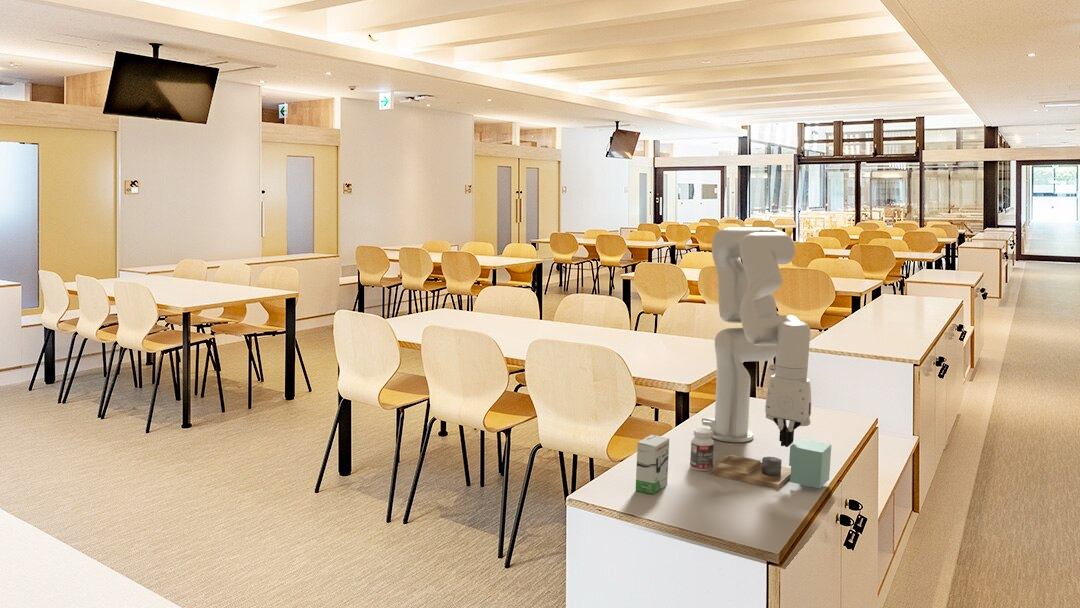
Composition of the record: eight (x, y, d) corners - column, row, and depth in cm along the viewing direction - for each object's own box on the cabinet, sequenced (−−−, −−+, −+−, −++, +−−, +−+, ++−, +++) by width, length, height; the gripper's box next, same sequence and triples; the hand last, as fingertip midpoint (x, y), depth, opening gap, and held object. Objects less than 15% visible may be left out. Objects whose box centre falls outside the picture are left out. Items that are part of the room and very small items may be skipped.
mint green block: (788, 481, 200) (790, 446, 199) (797, 472, 206) (800, 438, 205) (820, 488, 196) (822, 452, 195) (829, 479, 202) (831, 444, 201)
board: (711, 474, 209) (712, 456, 208) (730, 460, 219) (731, 443, 218) (778, 489, 199) (779, 470, 198) (795, 473, 210) (796, 455, 209)
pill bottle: (699, 473, 209) (701, 435, 208) (685, 466, 214) (686, 428, 213) (717, 469, 212) (719, 432, 211) (703, 462, 217) (704, 426, 216)
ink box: (653, 495, 194) (655, 446, 192) (634, 490, 197) (636, 442, 195) (668, 484, 201) (670, 436, 200) (649, 480, 204) (651, 433, 202)
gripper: (755, 370, 202) (751, 443, 205) (817, 380, 194) (812, 455, 197) (766, 364, 208) (761, 435, 211) (826, 374, 200) (821, 447, 203)
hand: (786, 444), depth 204 cm, fingers closed
